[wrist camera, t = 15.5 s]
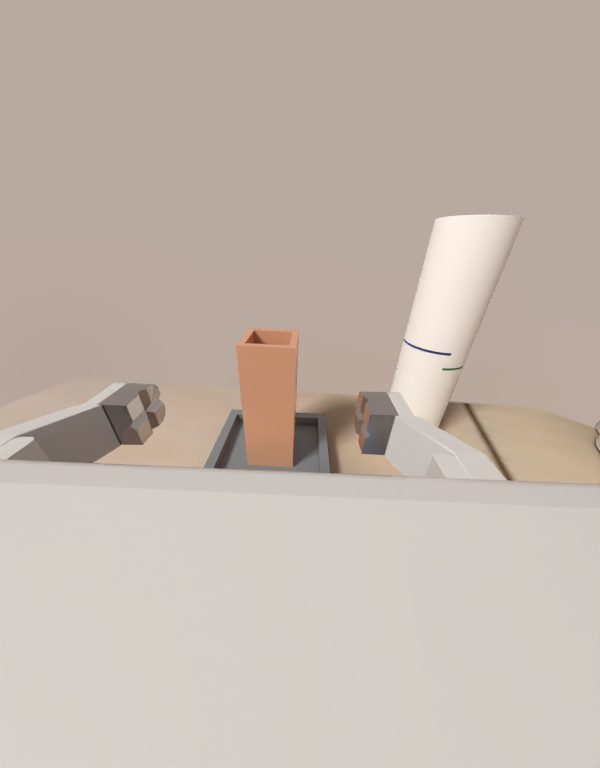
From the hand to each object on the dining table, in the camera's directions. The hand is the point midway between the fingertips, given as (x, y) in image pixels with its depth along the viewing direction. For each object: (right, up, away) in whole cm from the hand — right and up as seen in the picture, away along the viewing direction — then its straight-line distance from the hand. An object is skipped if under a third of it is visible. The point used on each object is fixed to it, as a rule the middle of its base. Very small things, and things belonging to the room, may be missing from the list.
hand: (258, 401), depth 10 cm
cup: (-2, -7, +19) cm, 20 cm away
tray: (-2, -8, +19) cm, 21 cm away
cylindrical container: (+18, -6, +25) cm, 31 cm away
